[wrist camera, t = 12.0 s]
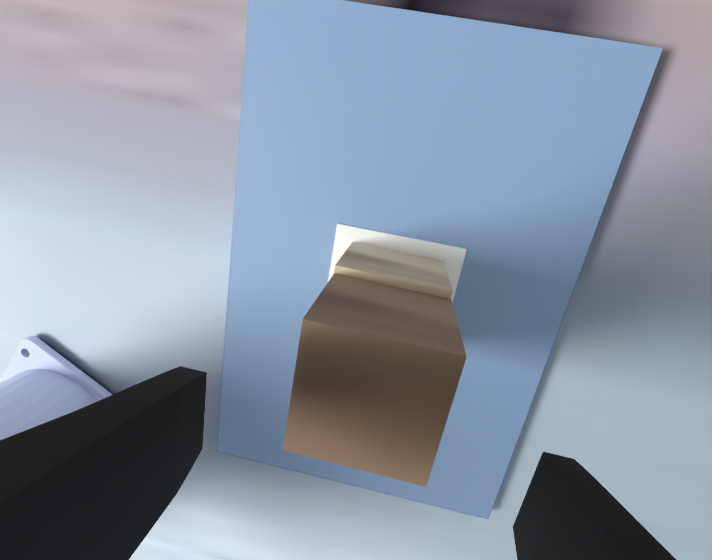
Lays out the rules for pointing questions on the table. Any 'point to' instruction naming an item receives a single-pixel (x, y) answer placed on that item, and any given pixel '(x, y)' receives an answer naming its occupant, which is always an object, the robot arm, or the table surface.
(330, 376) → the walnut cube
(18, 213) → the table surface
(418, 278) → the maple cube
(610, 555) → the robot arm
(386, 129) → the board
